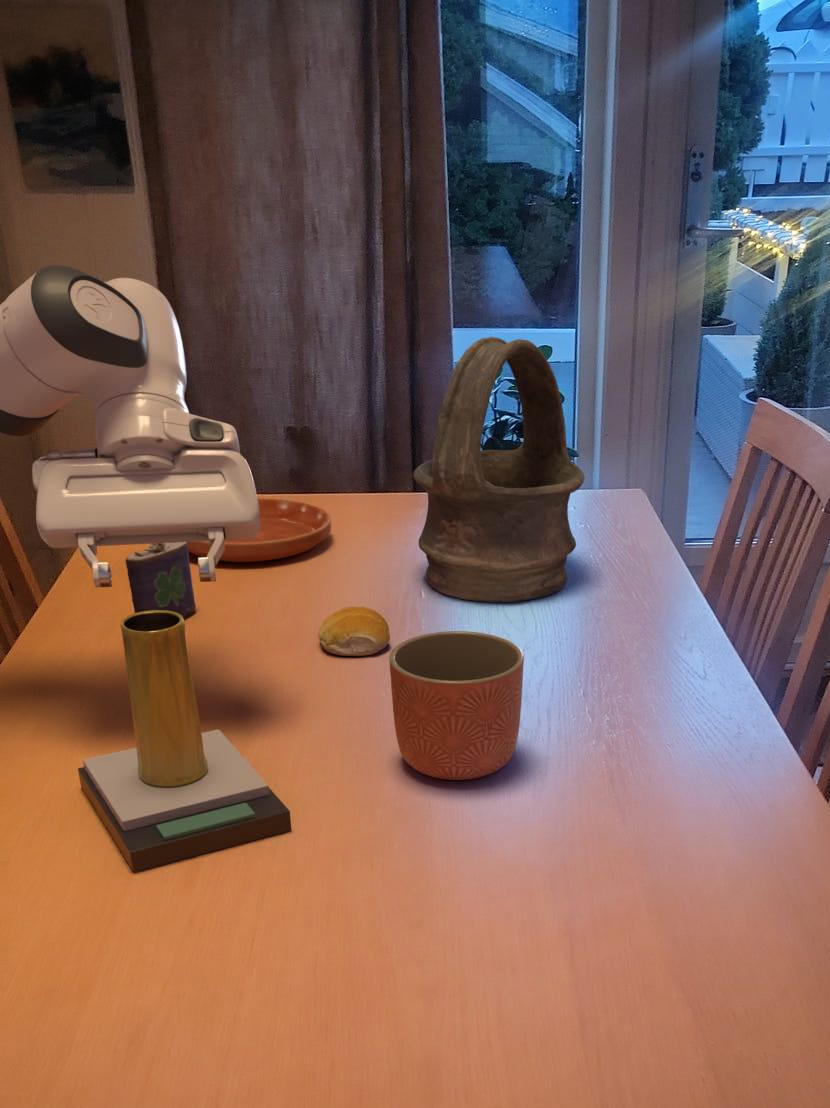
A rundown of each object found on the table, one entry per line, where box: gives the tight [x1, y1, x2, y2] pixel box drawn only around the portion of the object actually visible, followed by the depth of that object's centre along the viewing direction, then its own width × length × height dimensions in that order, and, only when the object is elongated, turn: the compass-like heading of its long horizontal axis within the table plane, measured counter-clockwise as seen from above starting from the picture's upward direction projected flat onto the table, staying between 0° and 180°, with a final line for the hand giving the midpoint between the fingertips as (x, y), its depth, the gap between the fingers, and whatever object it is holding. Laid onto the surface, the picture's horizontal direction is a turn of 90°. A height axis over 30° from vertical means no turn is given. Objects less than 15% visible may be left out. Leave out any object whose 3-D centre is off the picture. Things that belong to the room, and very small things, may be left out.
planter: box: [388, 630, 525, 781], centre depth 116 cm, size 12×12×11 cm
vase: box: [120, 610, 208, 787], centre depth 106 cm, size 6×6×14 cm
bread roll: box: [317, 606, 391, 657], centre depth 143 cm, size 8×9×4 cm
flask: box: [125, 542, 197, 620], centre depth 147 cm, size 9×3×11 cm, turn 147°
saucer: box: [186, 498, 332, 563], centre depth 175 cm, size 23×23×4 cm
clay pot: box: [413, 336, 586, 603], centre depth 156 cm, size 22×23×30 cm
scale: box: [77, 729, 292, 873], centre depth 110 cm, size 14×17×3 cm
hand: (155, 582), depth 113 cm, fingers open, 8 cm apart
